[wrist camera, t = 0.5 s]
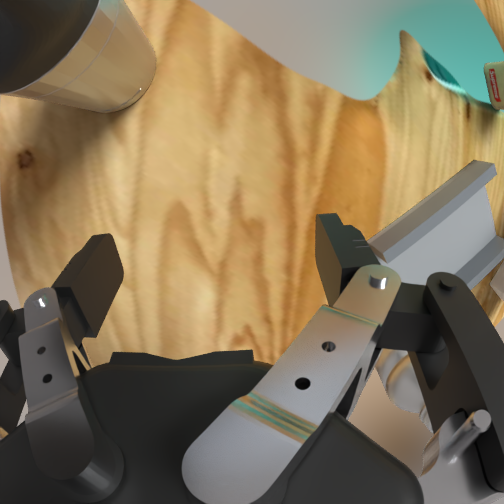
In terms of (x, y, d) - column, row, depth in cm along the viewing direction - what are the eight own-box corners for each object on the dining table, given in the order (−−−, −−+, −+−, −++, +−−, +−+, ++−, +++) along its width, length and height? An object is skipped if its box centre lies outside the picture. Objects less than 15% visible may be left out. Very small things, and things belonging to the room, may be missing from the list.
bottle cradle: (402, 320, 40) (416, 335, 36) (366, 241, 35) (382, 253, 31) (494, 241, 38) (511, 249, 34) (473, 159, 33) (494, 163, 29)
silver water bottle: (369, 270, 36) (476, 373, 18) (386, 309, 39) (477, 410, 20) (325, 300, 37) (407, 425, 18) (346, 336, 39) (420, 453, 20)
